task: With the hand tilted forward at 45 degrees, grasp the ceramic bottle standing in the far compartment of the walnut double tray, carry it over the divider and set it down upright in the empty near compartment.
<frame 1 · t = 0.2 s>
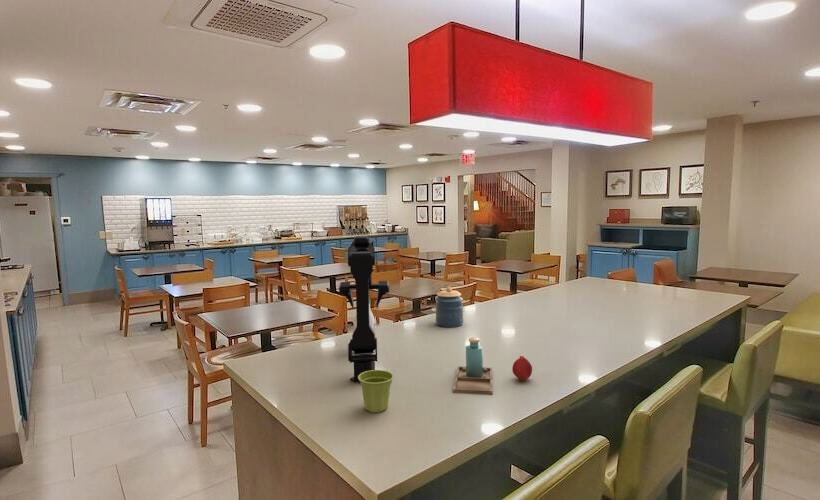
hand: (365, 307, 170), 15 cm above the table, tool pointing down, fingers open, 9 cm apart
double tray: (473, 382, 133), on the table
milk bottle: (365, 352, 165), on the table
onion: (522, 381, 133), on the table
bottle: (474, 375, 137), point 1 cm above the table, touching double tray
canister: (449, 324, 204), on the table
plant pot: (376, 408, 116), on the table
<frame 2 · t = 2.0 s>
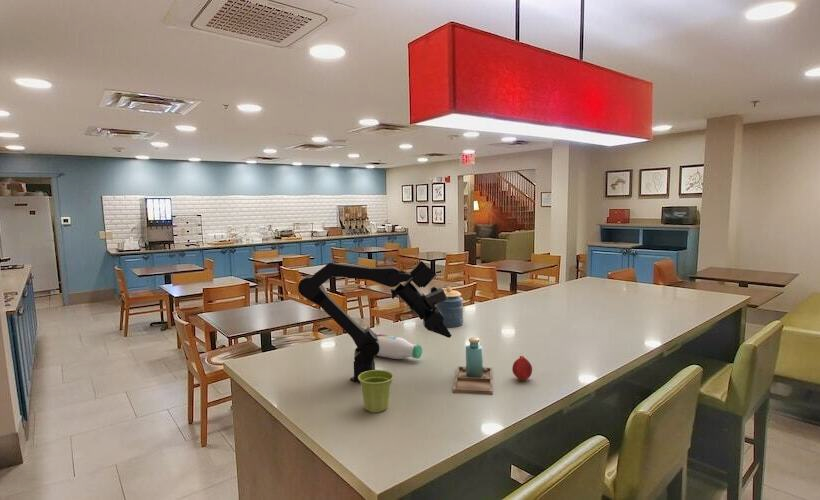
hand: (447, 332, 139), 14 cm above the table, tool tilted 45°, fingers open, 9 cm apart
milk bottle: (371, 343, 162), point 4 cm above the table
everything else where it was.
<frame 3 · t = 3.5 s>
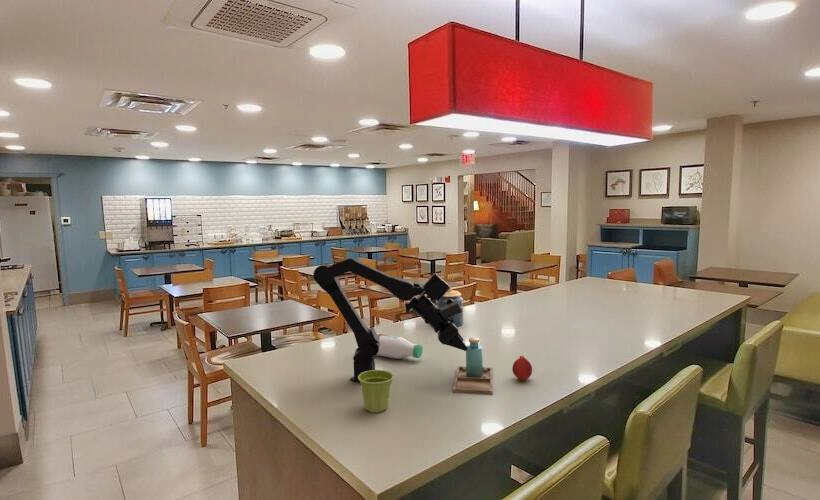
hand: (464, 345, 137), 10 cm above the table, tool tilted 45°, fingers open, 9 cm apart
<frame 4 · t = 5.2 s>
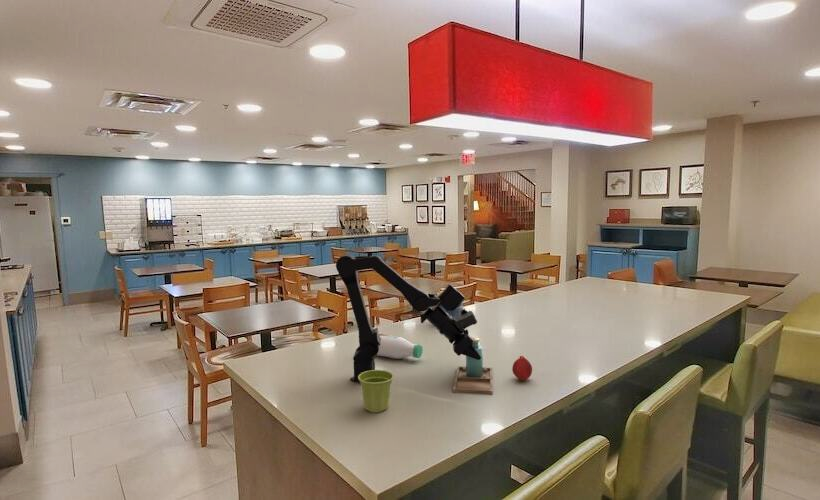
hand: (478, 355, 137), 7 cm above the table, tool tilted 45°, fingers closed on bottle, 5 cm apart
bottle: (474, 375, 137), point 1 cm above the table, touching double tray, gripper
everything else where it was.
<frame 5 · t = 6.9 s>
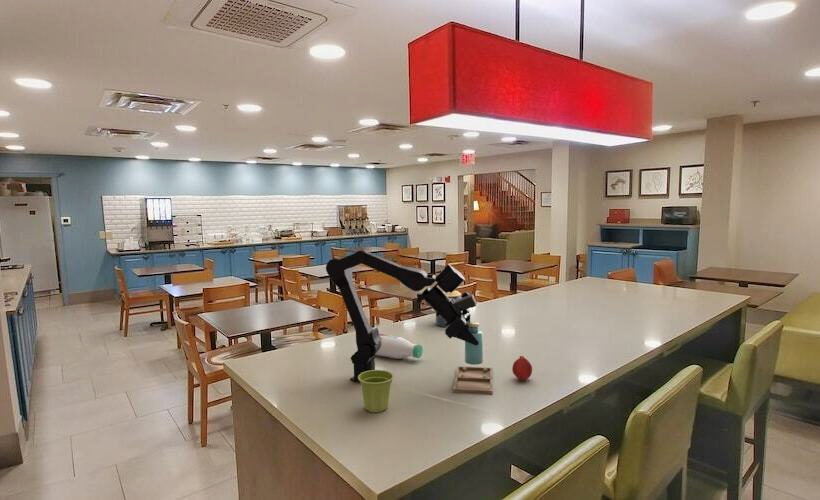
hand: (478, 341, 129), 13 cm above the table, tool tilted 45°, fingers closed on bottle, 5 cm apart
bottle: (473, 361, 130), point 7 cm above the table, touching gripper
everything else where it was.
when the fingers open (8 cm above the table, at t = 8.5 s): bottle drops 1 cm, resting on double tray.
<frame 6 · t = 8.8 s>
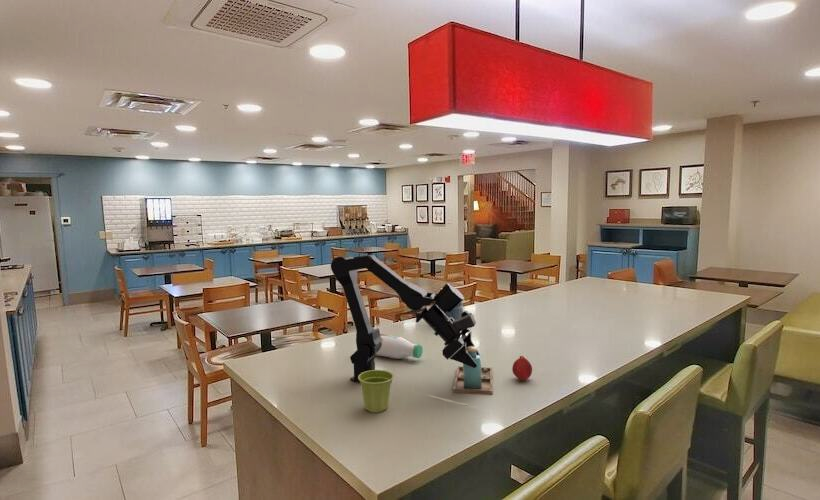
hand: (477, 362, 127), 8 cm above the table, tool tilted 45°, fingers open, 8 cm apart
bottle: (472, 386, 128), point 1 cm above the table, touching double tray
everything else where it was.
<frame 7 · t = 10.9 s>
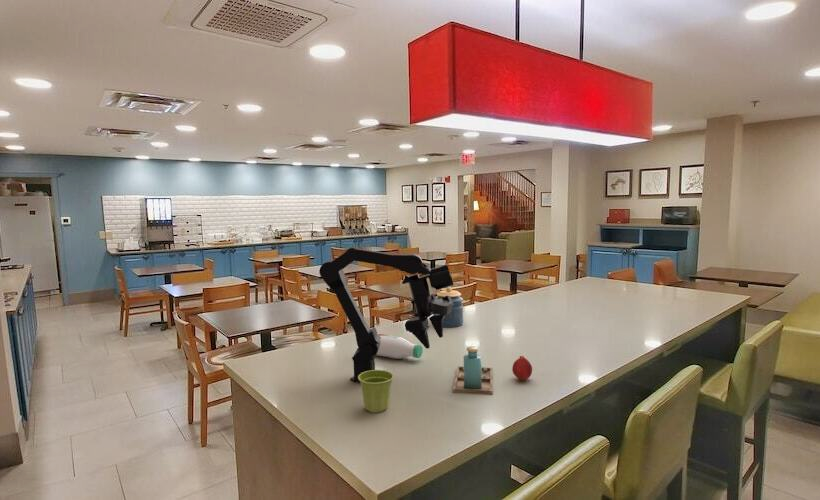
hand: (434, 342, 135), 12 cm above the table, tool pointing down, fingers open, 9 cm apart
nothing on the table moved.
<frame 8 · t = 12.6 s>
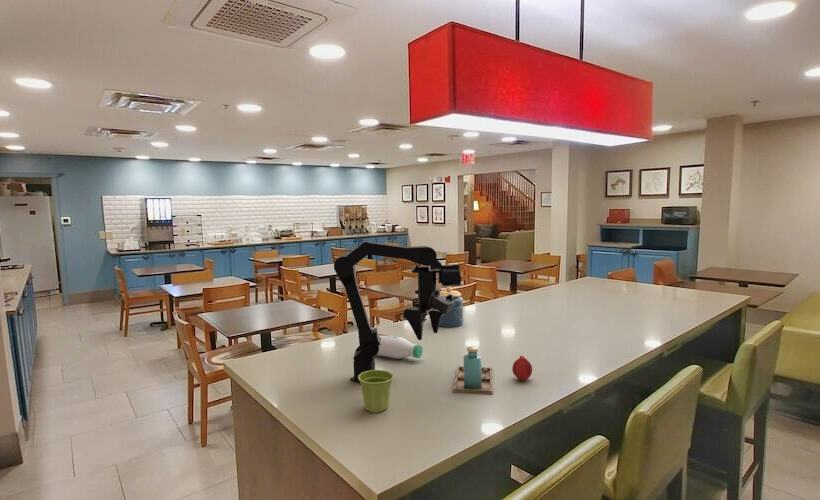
hand: (427, 336, 137), 13 cm above the table, tool pointing down, fingers open, 9 cm apart
nothing on the table moved.
at the end: bottle inside the target area (0.1 cm from its centre), point 0.5 cm above the table; bottle tilted 0°; the gripper is holding nothing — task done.
